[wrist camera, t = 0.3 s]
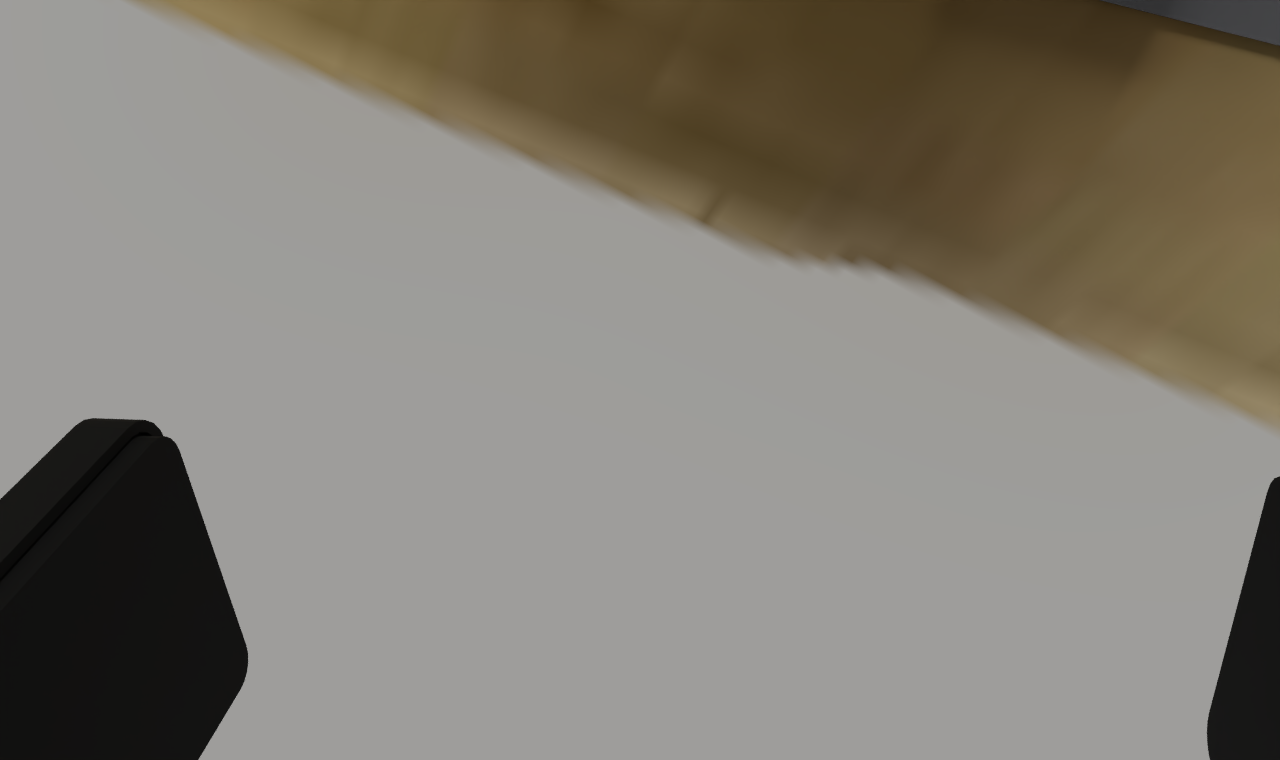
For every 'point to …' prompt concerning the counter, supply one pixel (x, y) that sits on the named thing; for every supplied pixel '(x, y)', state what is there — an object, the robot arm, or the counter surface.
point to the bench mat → (1219, 15)
